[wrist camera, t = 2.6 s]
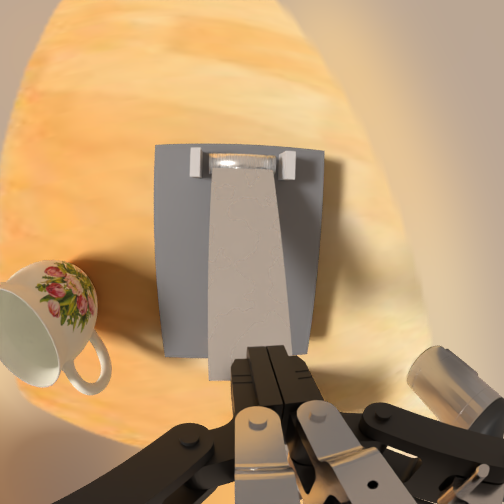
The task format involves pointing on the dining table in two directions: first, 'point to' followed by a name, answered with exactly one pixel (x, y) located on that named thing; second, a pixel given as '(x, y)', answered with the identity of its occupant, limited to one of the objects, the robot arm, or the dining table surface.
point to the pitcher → (50, 325)
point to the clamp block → (197, 238)
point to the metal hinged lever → (244, 262)
